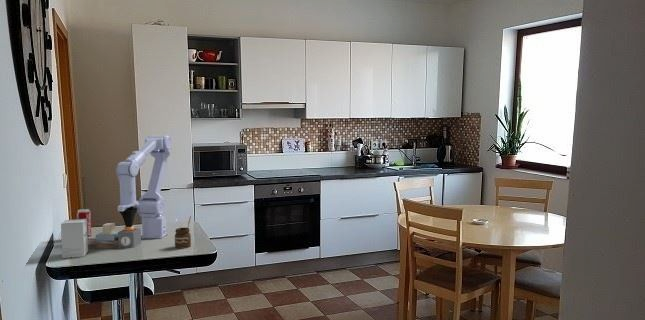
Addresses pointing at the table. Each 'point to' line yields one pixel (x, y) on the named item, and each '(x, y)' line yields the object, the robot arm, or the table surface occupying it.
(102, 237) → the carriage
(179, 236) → the brown jar with straw
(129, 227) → the button
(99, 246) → the rail track
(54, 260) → the table surface
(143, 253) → the table surface
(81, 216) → the soda can
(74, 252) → the supplement box
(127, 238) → the cabinet
